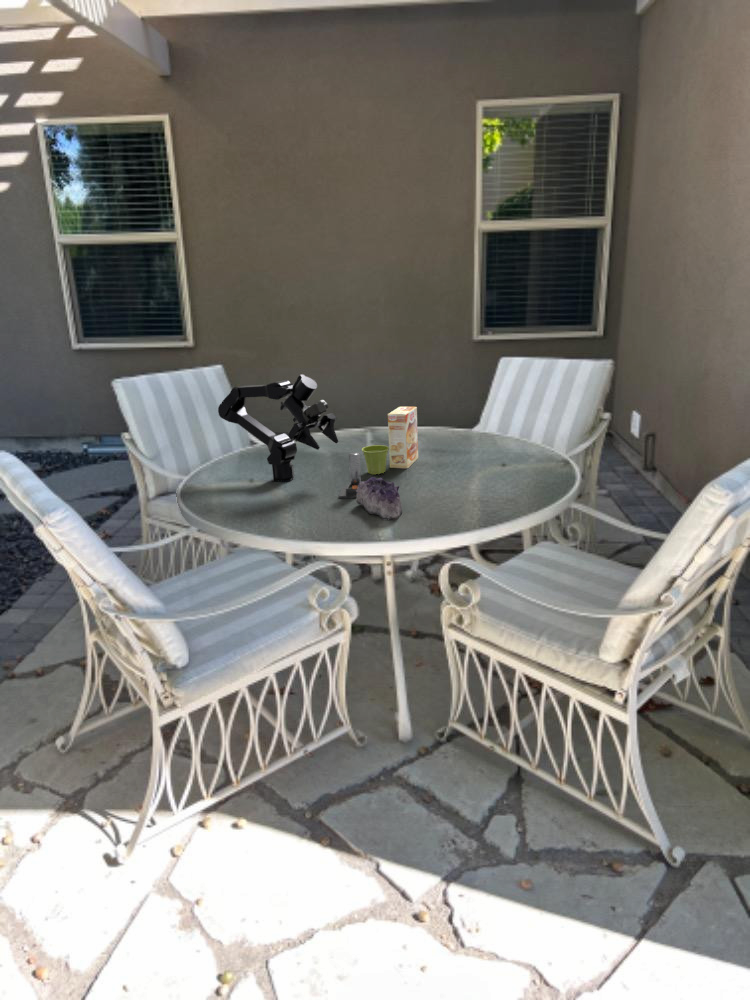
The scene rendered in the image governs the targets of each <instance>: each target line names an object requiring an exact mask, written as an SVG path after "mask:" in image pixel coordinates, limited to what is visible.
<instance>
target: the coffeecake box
mask: <svg viewBox="0 0 750 1000" xmlns="http://www.w3.org/2000/svg"><path fill="white" fill-rule="evenodd" d="M387 431H388V447H389V450H388V454H389V468H391V469H393V468H394V469H409V468H410V467H411V466H412V465H413V464H414V463H415V462H416V461H417V460H418V459H419V446H418V445H419V441H418V440H419V438H418V436H419V435H418V433H419V432H418V407H417V406H398V407H397V408H395V409H393V410H392V411H391V412H389V413H387Z"/></svg>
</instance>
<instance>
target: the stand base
mask: <svg viewBox="0 0 750 1000" xmlns="http://www.w3.org/2000/svg"><path fill="white" fill-rule="evenodd" d="M357 487H358V485H352V488H351V483H348V484H347V486H342V488H341V490H340V492H339V494H338V496H337V497H338V499H341V500H342V499H357V492H356V490H357Z"/></svg>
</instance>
